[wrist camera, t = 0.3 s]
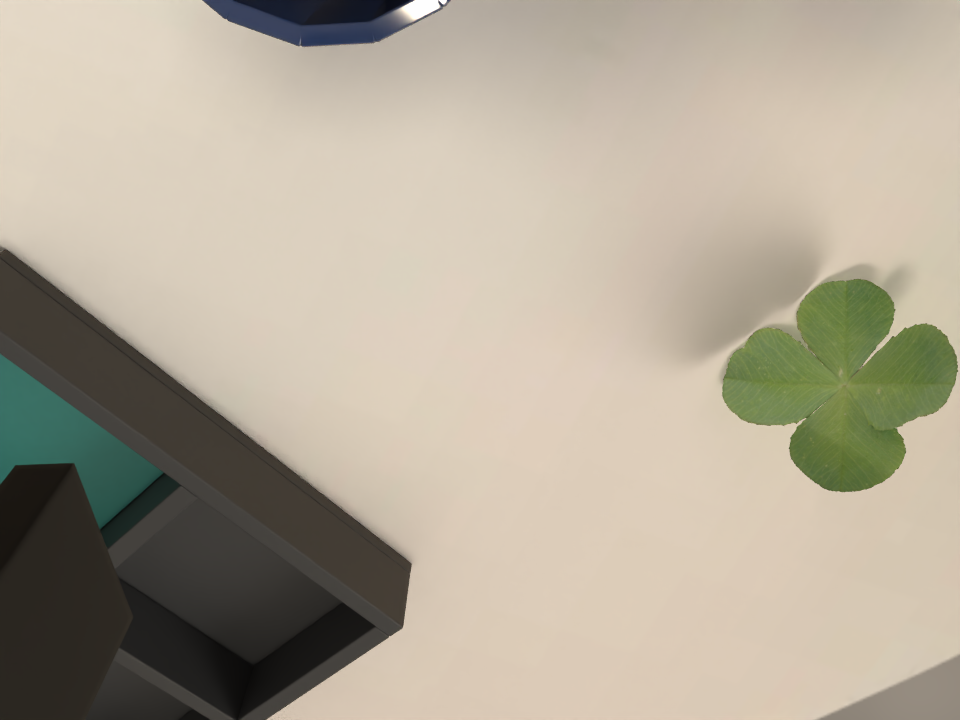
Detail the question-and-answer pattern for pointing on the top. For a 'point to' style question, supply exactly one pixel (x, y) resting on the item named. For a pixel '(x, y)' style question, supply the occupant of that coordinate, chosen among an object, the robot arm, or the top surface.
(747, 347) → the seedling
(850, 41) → the top surface
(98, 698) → the tray
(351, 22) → the cup
